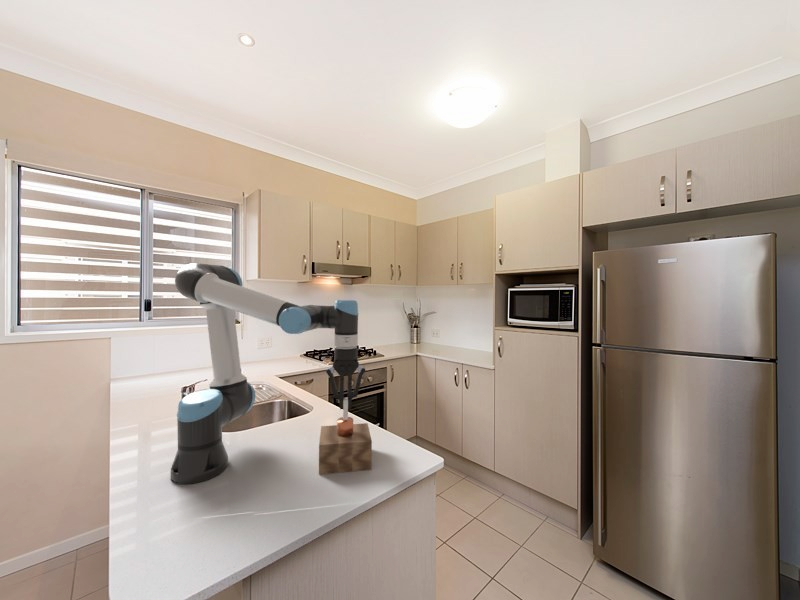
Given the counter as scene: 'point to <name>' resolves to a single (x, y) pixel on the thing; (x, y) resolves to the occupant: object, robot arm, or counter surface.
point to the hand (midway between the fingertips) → (345, 418)
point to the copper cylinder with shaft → (345, 427)
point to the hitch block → (345, 450)
